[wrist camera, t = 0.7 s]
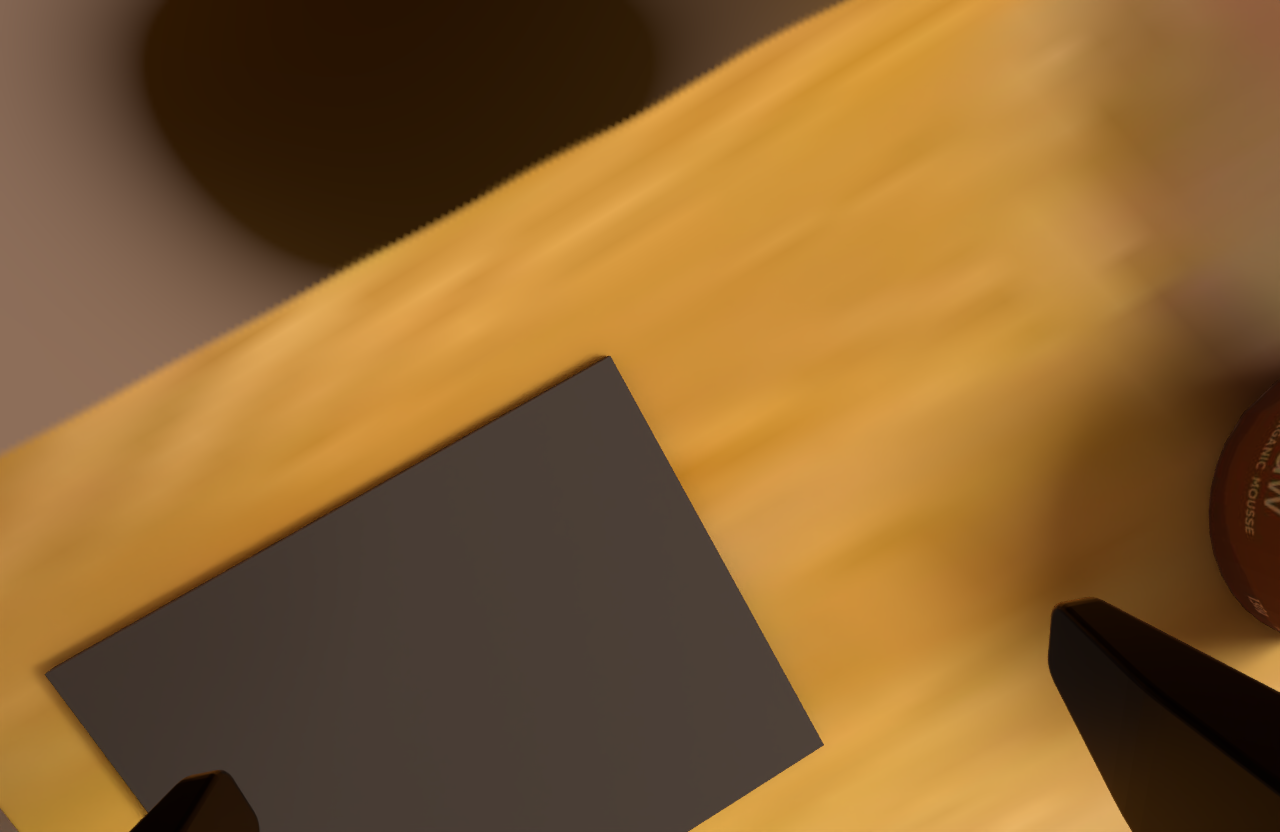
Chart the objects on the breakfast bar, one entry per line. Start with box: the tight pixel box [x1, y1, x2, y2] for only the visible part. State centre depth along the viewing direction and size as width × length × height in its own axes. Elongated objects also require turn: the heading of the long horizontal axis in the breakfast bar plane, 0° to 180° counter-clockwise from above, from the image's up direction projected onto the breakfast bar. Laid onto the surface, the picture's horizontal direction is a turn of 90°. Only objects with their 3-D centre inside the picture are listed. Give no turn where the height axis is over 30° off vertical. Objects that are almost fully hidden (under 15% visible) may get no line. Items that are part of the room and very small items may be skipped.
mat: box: [45, 356, 824, 832], centre depth 22 cm, size 16×13×1 cm
